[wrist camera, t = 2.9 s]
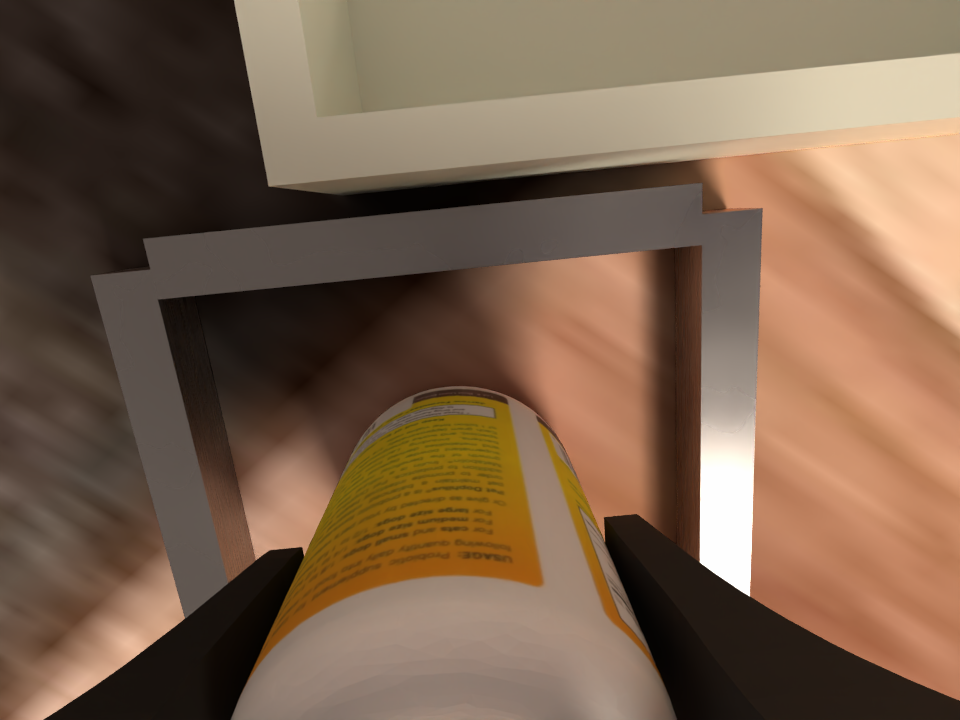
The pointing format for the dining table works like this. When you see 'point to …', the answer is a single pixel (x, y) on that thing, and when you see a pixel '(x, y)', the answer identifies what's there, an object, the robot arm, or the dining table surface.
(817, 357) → the dining table surface
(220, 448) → the socket collar
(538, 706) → the supplement bottle
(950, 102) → the bin
